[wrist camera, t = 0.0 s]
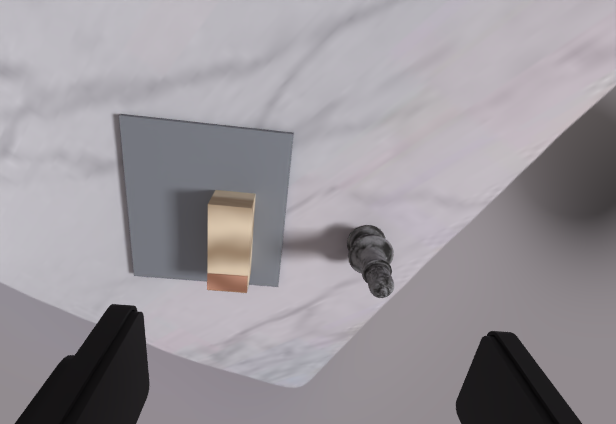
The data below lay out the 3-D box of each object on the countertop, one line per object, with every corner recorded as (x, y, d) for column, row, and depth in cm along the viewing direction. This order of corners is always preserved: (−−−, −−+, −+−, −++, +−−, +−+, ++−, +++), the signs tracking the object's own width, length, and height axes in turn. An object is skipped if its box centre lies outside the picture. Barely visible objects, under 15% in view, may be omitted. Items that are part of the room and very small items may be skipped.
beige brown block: (215, 189, 46) (207, 204, 42) (255, 193, 47) (251, 208, 42) (214, 270, 51) (207, 290, 47) (250, 273, 52) (246, 293, 47)
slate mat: (121, 114, 43) (118, 115, 42) (293, 132, 44) (293, 134, 44) (136, 272, 52) (134, 275, 51) (278, 283, 54) (278, 286, 53)
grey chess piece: (337, 249, 51) (348, 306, 41) (359, 216, 49) (377, 265, 39) (372, 266, 53) (392, 325, 42) (395, 234, 51) (423, 287, 40)
